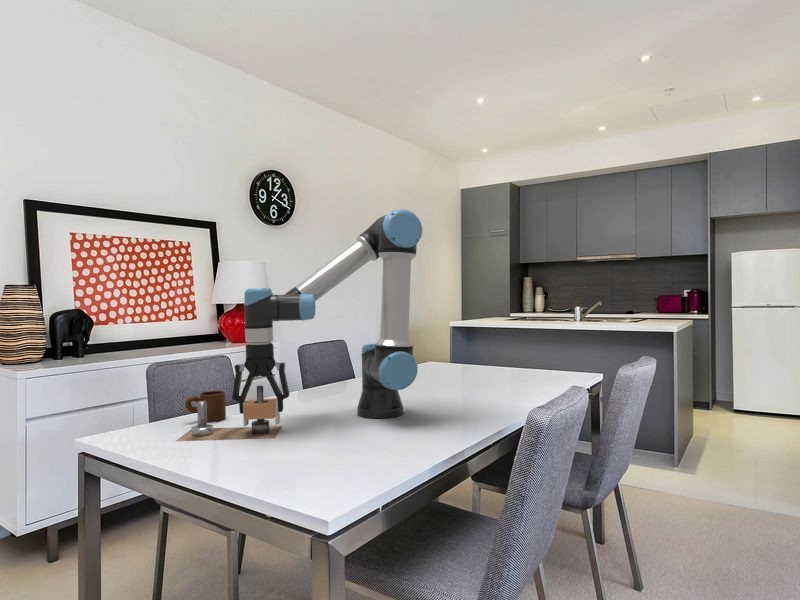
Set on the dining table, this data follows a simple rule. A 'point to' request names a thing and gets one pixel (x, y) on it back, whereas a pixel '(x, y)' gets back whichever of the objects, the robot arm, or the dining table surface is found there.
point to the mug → (210, 405)
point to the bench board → (232, 434)
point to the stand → (260, 424)
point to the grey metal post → (202, 421)
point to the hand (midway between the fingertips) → (262, 424)
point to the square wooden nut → (259, 409)
